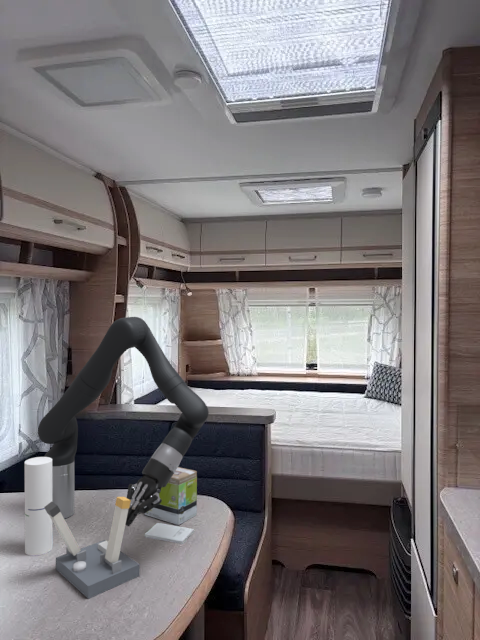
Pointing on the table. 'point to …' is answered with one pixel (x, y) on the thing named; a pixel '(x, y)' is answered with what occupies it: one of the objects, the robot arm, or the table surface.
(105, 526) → the table surface
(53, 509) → the black lever
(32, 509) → the cylindrical container
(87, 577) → the switch panel
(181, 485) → the tea box
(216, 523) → the table surface
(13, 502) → the table surface
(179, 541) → the external hard drive
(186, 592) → the table surface
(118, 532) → the amber lever
